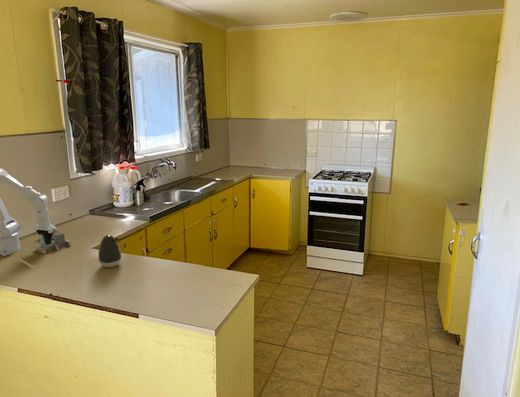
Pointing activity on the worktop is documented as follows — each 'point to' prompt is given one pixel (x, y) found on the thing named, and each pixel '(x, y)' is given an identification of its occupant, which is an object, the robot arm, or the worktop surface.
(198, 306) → the worktop surface
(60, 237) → the grey plug
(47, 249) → the brown tray
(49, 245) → the teal plug
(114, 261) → the dark grey egg shape
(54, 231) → the ceramic mug
